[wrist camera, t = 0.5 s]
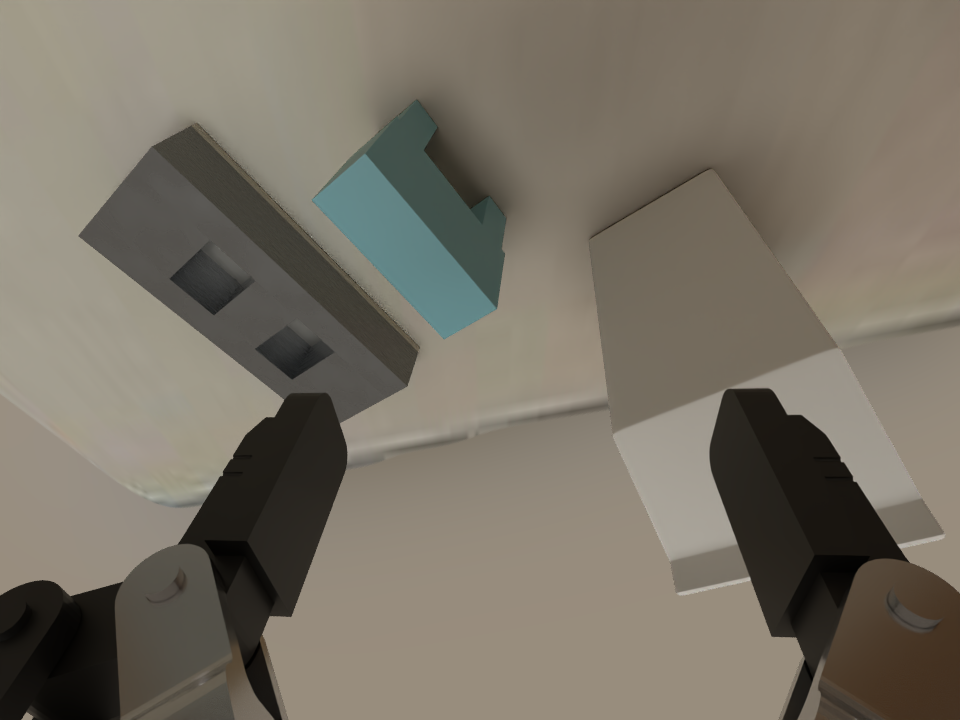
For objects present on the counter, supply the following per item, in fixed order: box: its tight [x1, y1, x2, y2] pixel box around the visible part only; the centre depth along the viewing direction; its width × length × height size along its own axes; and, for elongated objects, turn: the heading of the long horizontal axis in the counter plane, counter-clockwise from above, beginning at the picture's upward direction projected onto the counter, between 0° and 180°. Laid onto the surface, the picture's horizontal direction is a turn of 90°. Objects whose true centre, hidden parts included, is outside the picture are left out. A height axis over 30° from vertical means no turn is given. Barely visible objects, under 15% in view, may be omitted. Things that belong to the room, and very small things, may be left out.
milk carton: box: [589, 169, 945, 595], centre depth 22 cm, size 7×7×19 cm
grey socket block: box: [79, 123, 420, 423], centre depth 32 cm, size 18×8×4 cm, turn 38°
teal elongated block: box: [312, 100, 506, 339], centre depth 24 cm, size 8×3×9 cm, turn 38°
